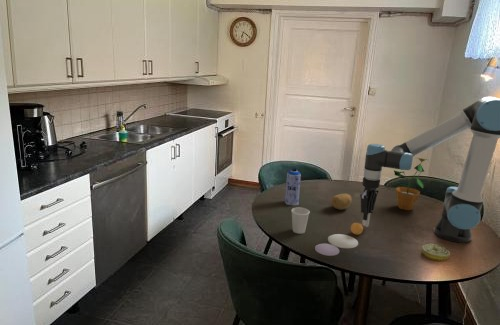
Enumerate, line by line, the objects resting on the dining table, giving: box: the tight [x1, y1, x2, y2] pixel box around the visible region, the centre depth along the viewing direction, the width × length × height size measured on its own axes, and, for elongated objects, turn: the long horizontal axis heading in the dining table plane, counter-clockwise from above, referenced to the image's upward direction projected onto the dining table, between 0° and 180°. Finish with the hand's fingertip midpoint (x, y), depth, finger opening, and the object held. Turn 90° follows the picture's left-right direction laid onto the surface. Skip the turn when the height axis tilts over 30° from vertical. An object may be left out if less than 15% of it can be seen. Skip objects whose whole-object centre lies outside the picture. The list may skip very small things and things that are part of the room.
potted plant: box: [393, 156, 428, 211], centre depth 201 cm, size 18×19×30 cm
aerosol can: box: [284, 167, 302, 206], centre depth 202 cm, size 8×8×20 cm
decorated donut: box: [421, 243, 451, 262], centre depth 153 cm, size 10×11×4 cm
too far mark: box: [314, 243, 340, 257], centre depth 154 cm, size 10×10×1 cm
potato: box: [330, 193, 353, 210], centre depth 199 cm, size 10×14×8 cm
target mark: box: [327, 233, 359, 249], centre depth 162 cm, size 13×13×1 cm
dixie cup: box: [290, 206, 311, 235], centre depth 169 cm, size 8×8×10 cm
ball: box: [350, 222, 364, 236], centre depth 169 cm, size 6×6×6 cm
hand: (365, 225), depth 175 cm, fingers closed
